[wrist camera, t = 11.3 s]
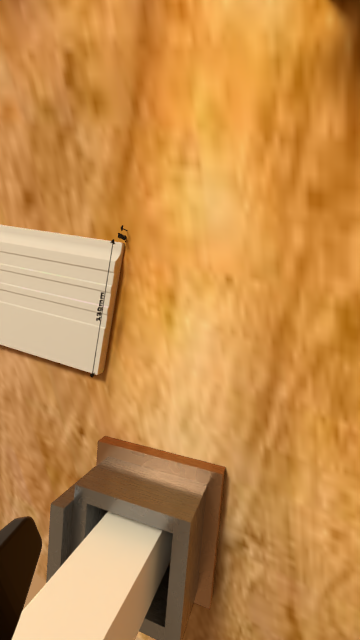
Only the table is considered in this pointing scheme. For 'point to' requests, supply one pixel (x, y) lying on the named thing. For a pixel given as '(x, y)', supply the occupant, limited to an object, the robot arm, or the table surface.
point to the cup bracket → (149, 521)
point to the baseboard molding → (58, 295)
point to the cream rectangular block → (101, 585)
